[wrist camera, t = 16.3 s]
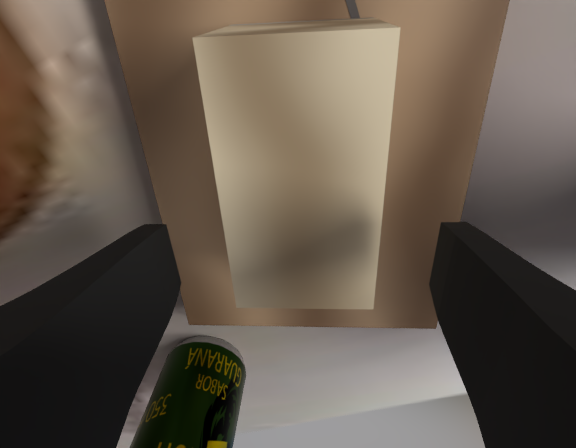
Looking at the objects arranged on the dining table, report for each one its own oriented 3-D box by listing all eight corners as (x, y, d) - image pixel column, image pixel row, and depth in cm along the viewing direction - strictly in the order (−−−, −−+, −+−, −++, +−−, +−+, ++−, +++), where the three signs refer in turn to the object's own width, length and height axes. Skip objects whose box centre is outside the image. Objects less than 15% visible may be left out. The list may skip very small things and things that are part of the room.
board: (525, -169, 11) (552, -190, 10) (429, 309, 22) (436, 328, 21) (91, -131, 13) (66, -145, 11) (196, 306, 23) (189, 325, 22)
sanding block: (372, 17, 13) (400, 27, 9) (359, 233, 18) (373, 309, 13) (231, 24, 13) (192, 37, 9) (255, 234, 18) (236, 307, 14)
